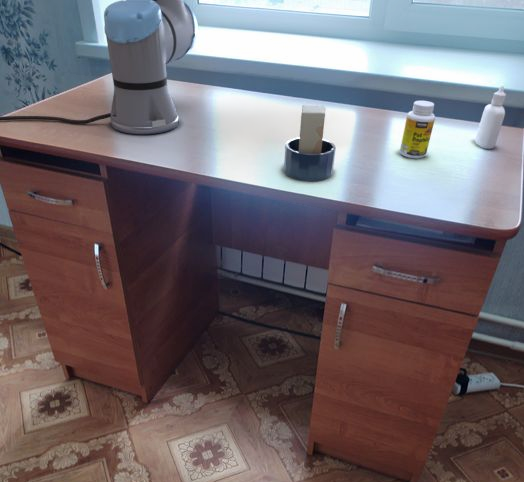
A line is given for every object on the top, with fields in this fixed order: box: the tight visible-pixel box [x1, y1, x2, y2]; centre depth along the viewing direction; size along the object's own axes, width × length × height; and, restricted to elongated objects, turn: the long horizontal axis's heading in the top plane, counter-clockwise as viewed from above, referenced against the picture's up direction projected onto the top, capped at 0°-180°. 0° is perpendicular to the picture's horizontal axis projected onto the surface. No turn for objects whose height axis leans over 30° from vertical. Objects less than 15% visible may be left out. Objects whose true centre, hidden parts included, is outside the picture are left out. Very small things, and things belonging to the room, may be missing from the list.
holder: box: [283, 137, 336, 182], centre depth 97 cm, size 9×9×5 cm
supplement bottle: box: [399, 100, 436, 159], centre depth 104 cm, size 6×6×10 cm
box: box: [299, 104, 326, 154], centre depth 95 cm, size 5×4×11 cm
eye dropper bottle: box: [474, 85, 507, 150], centre depth 109 cm, size 4×6×12 cm
